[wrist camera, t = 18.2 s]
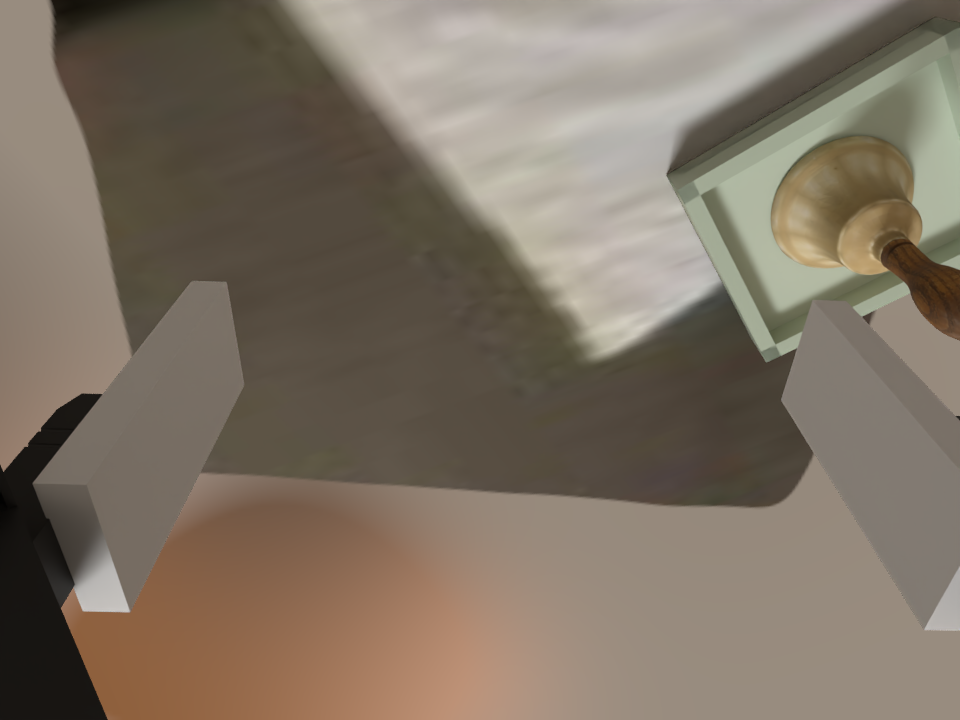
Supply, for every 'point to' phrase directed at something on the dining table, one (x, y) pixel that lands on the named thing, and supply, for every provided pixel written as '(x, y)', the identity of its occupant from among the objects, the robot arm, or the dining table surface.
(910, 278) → the hand bell
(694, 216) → the tray
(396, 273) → the dining table surface
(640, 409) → the dining table surface
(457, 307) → the dining table surface
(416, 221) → the dining table surface
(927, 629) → the robot arm
